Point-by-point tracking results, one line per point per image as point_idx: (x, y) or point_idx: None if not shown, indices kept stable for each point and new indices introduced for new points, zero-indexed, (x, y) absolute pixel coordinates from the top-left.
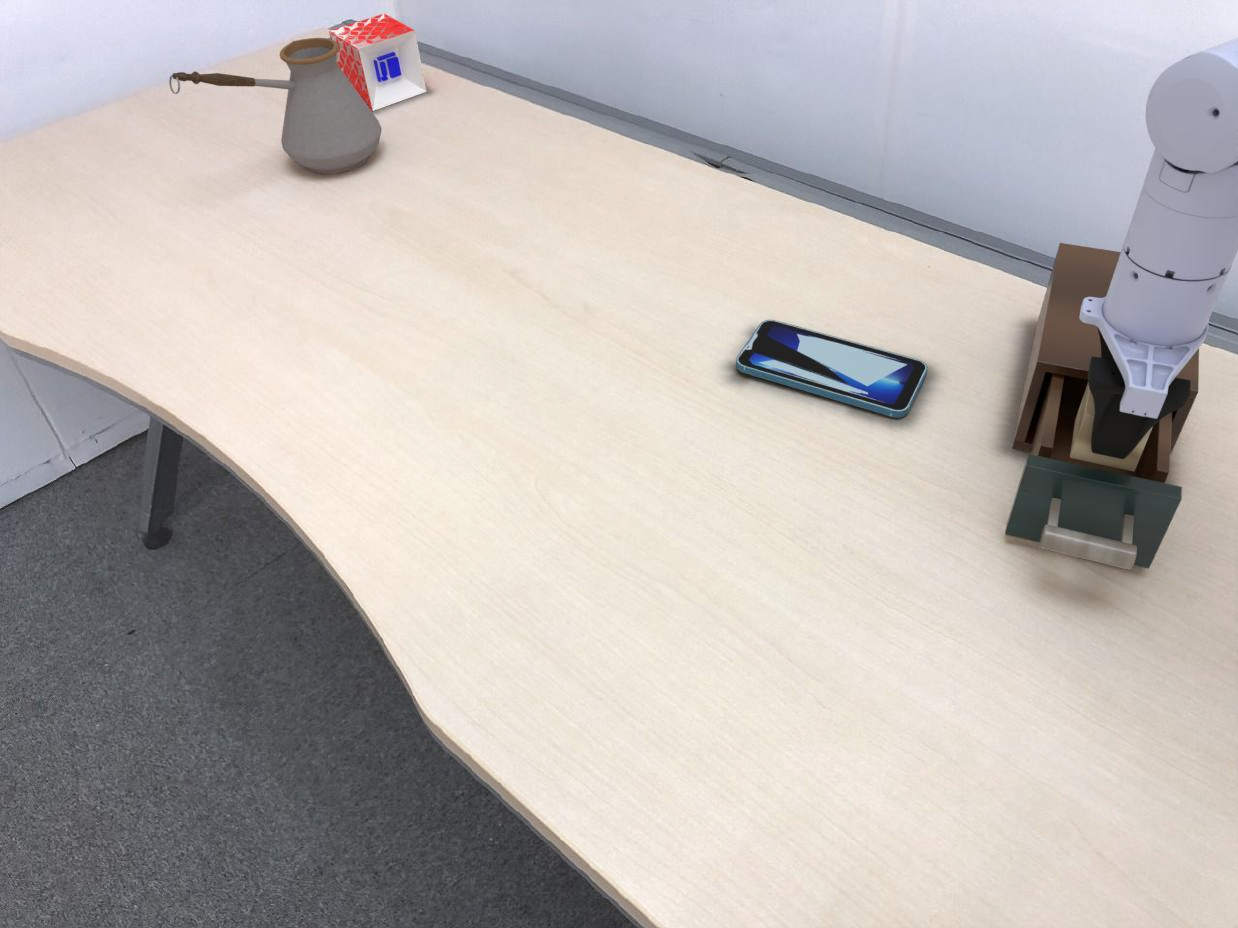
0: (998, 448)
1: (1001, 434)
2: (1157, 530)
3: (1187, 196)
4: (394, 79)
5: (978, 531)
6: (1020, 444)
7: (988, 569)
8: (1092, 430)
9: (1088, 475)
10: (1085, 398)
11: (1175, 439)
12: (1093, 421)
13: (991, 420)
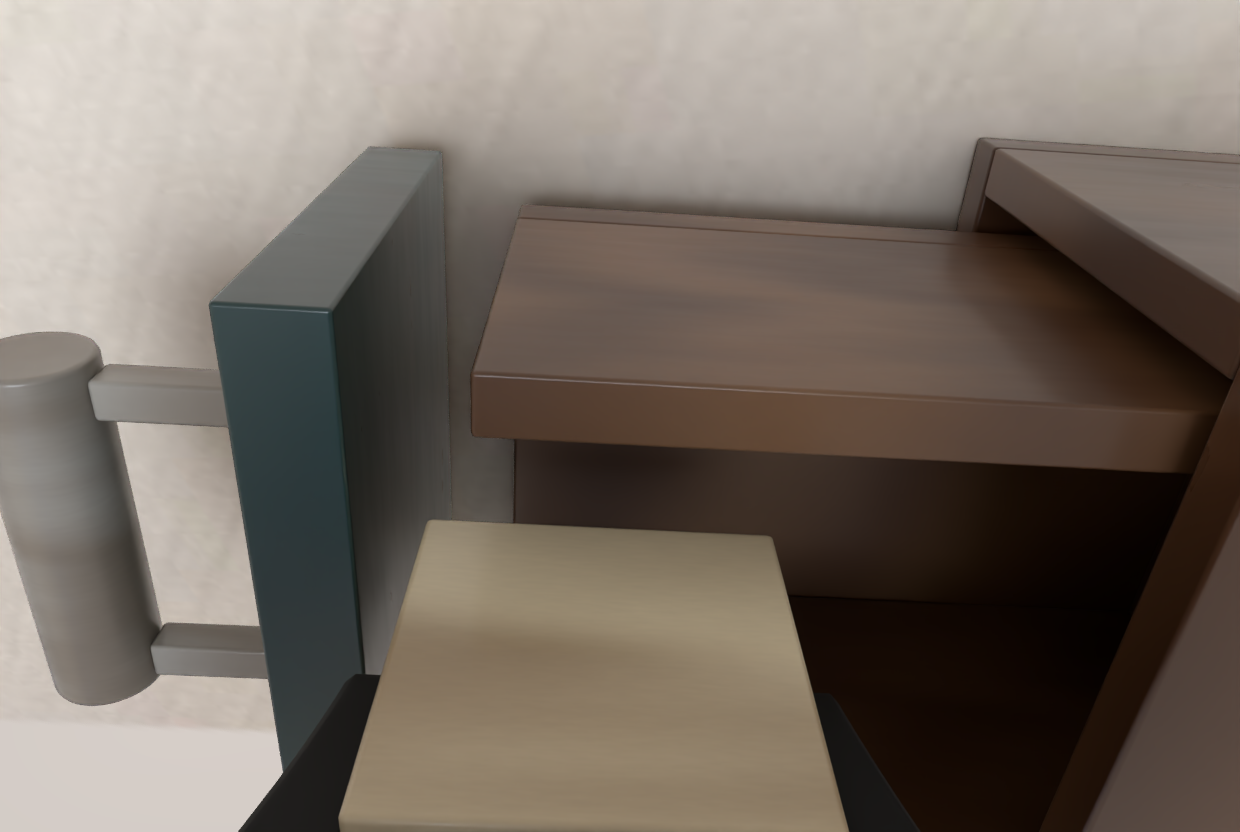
0: (975, 77)
1: (1075, 84)
2: None
3: None
4: None
5: (413, 28)
6: (982, 176)
7: (213, 89)
8: (262, 804)
9: (283, 612)
10: (639, 759)
11: None
12: (333, 824)
13: (1179, 28)
